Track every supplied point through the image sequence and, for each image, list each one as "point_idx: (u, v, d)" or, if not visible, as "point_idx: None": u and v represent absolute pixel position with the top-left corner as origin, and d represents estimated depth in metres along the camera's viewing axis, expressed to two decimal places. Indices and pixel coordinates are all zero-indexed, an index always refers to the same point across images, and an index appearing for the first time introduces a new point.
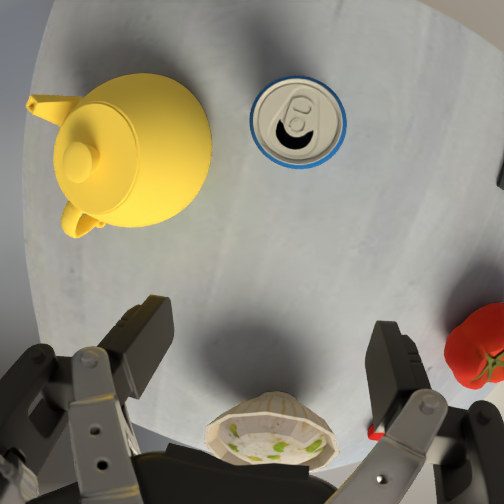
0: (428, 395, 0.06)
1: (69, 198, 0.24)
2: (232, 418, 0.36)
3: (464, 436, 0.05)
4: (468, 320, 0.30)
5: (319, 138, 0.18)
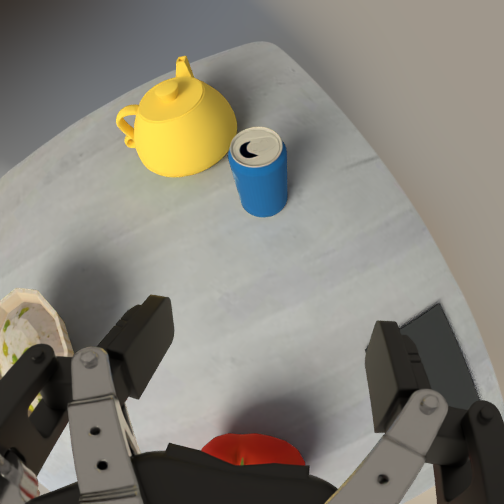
0: (428, 395, 0.06)
1: (141, 101, 0.38)
2: (33, 304, 0.33)
3: (464, 436, 0.05)
4: None
5: (256, 159, 0.31)
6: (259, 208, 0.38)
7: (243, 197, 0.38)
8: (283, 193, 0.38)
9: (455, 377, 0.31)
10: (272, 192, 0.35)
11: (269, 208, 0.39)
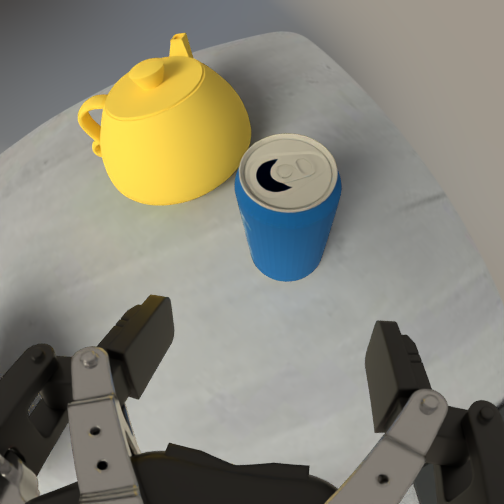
0: (428, 395, 0.06)
1: (112, 89, 0.24)
2: None
3: (464, 436, 0.05)
4: None
5: (289, 196, 0.16)
6: (281, 271, 0.24)
7: (256, 253, 0.23)
8: (322, 250, 0.23)
9: None
10: (306, 252, 0.20)
11: (296, 272, 0.24)
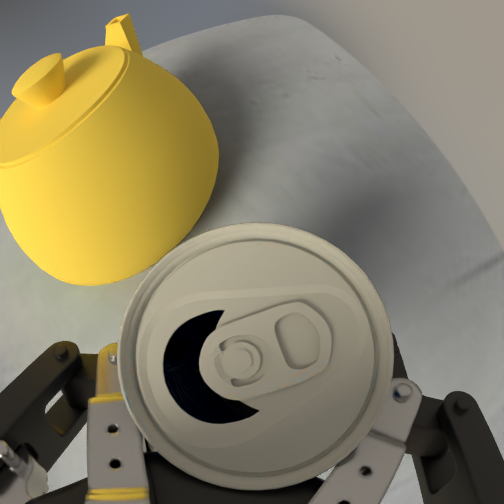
0: (400, 384, 0.07)
1: (8, 110, 0.13)
2: None
3: (442, 428, 0.06)
4: None
5: (248, 440, 0.05)
6: None
7: (209, 412, 0.12)
8: None
9: None
10: None
11: None
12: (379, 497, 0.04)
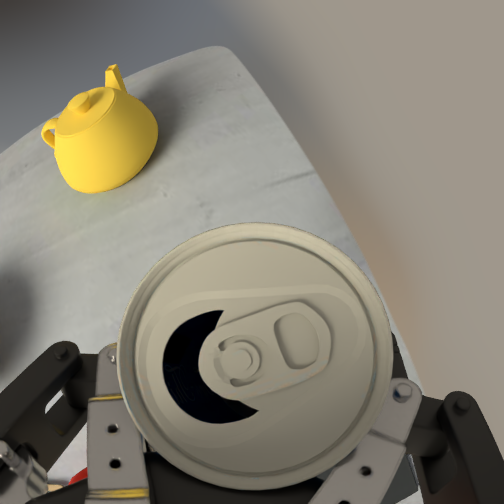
0: (400, 384, 0.07)
1: (61, 114, 0.34)
2: None
3: (441, 428, 0.06)
4: None
5: (247, 440, 0.05)
6: None
7: (209, 412, 0.12)
8: None
9: None
10: None
11: None
12: (379, 497, 0.04)
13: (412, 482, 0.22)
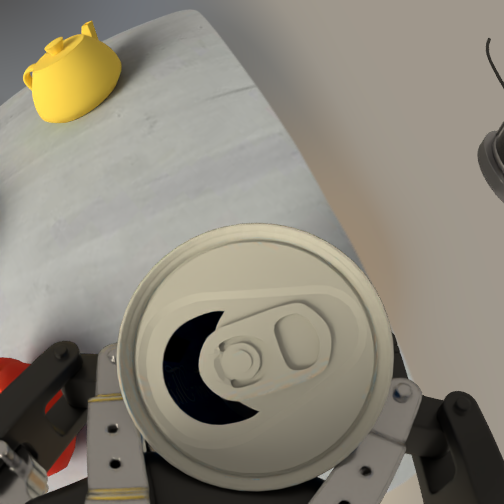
0: (400, 384, 0.07)
1: (40, 59, 0.33)
2: None
3: (441, 428, 0.06)
4: None
5: (248, 441, 0.05)
6: None
7: (209, 412, 0.12)
8: None
9: None
10: None
11: None
12: (379, 497, 0.04)
13: None
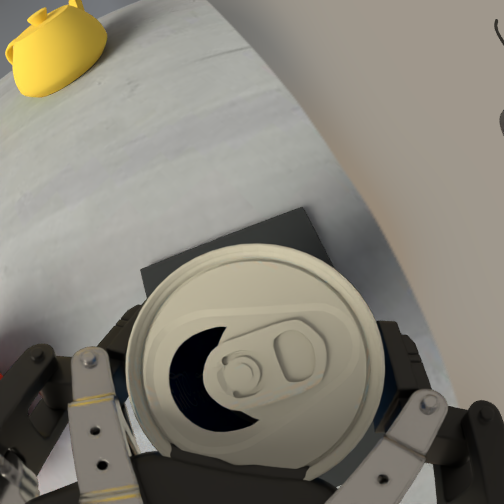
0: (428, 395, 0.06)
1: (23, 32, 0.26)
2: None
3: (464, 436, 0.05)
4: None
5: (248, 447, 0.05)
6: None
7: (211, 416, 0.12)
8: None
9: None
10: None
11: None
12: None
13: None
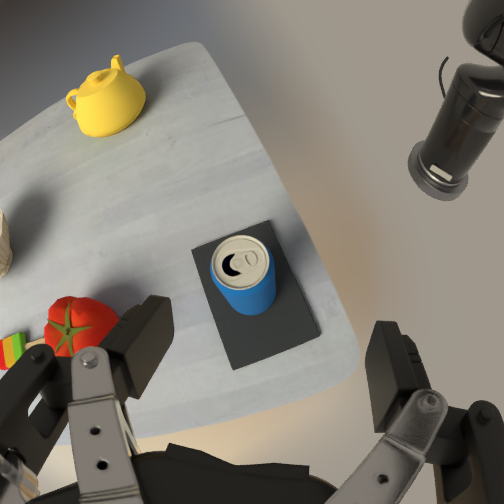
0: (428, 395, 0.06)
1: (81, 85, 0.50)
2: None
3: (464, 436, 0.05)
4: None
5: (239, 279, 0.29)
6: (244, 311, 0.37)
7: (227, 300, 0.36)
8: (269, 298, 0.36)
9: (280, 289, 0.41)
10: (256, 303, 0.33)
11: (254, 311, 0.37)
12: None
13: (312, 325, 0.38)
